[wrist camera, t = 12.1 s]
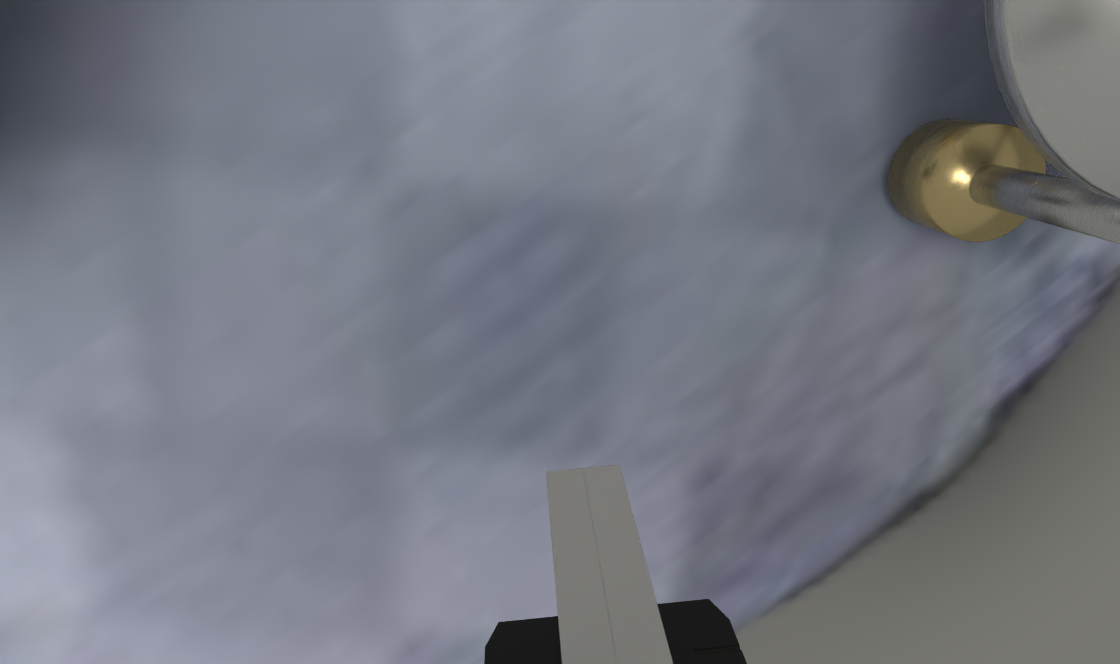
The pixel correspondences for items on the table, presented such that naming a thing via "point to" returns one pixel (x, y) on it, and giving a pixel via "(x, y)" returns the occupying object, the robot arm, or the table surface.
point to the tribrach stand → (1027, 131)
